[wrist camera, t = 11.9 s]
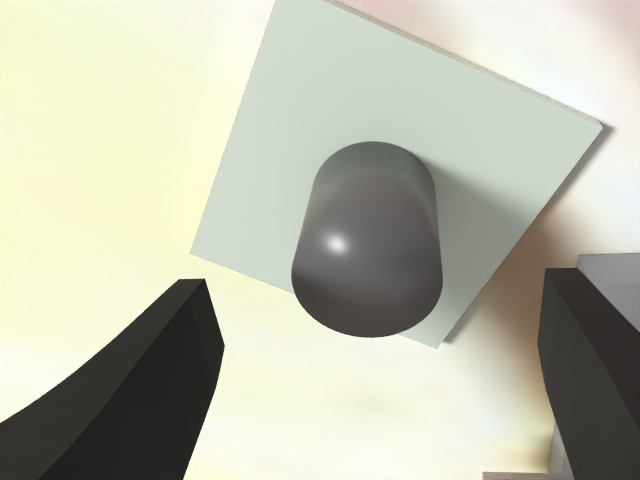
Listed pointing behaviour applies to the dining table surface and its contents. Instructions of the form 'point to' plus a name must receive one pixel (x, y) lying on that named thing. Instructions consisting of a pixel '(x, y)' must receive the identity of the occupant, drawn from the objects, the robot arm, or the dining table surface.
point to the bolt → (525, 476)
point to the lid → (380, 172)
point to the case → (625, 295)
